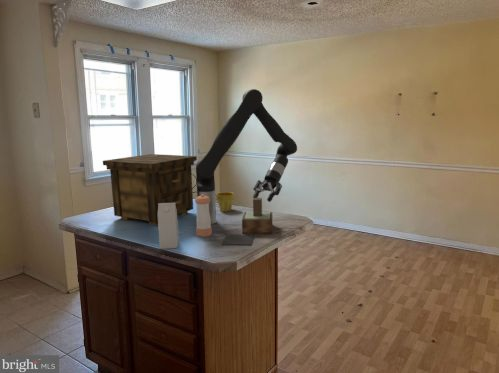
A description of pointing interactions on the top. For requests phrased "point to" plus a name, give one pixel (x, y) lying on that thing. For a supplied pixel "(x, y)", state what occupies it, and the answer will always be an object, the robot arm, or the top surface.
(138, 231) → the top surface
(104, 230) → the top surface
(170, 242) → the milk carton
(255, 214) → the lid
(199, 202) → the pepper shaker
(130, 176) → the crate
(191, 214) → the top surface
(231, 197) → the plant pot
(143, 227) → the top surface
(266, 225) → the crate
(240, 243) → the mat
